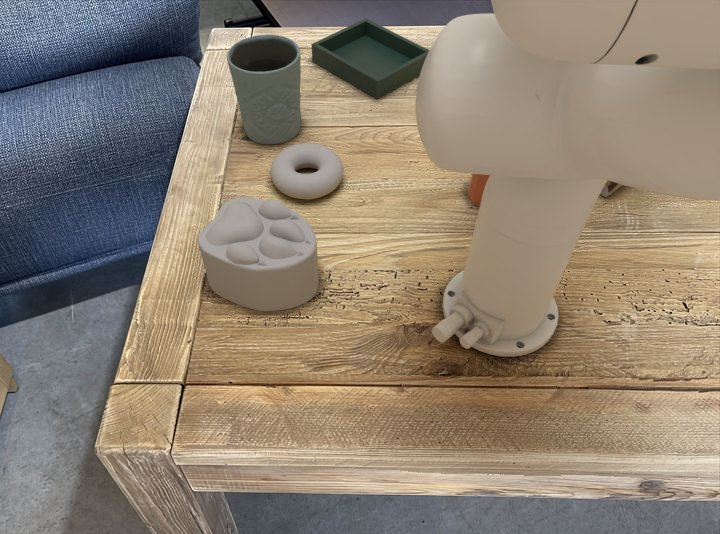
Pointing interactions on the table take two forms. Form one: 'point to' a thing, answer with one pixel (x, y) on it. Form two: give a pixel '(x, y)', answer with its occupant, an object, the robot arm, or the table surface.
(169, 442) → the table surface
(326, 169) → the donut
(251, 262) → the lumpy-topped squat cylinder
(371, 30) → the tray
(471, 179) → the cup
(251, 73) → the green embossed tumbler
